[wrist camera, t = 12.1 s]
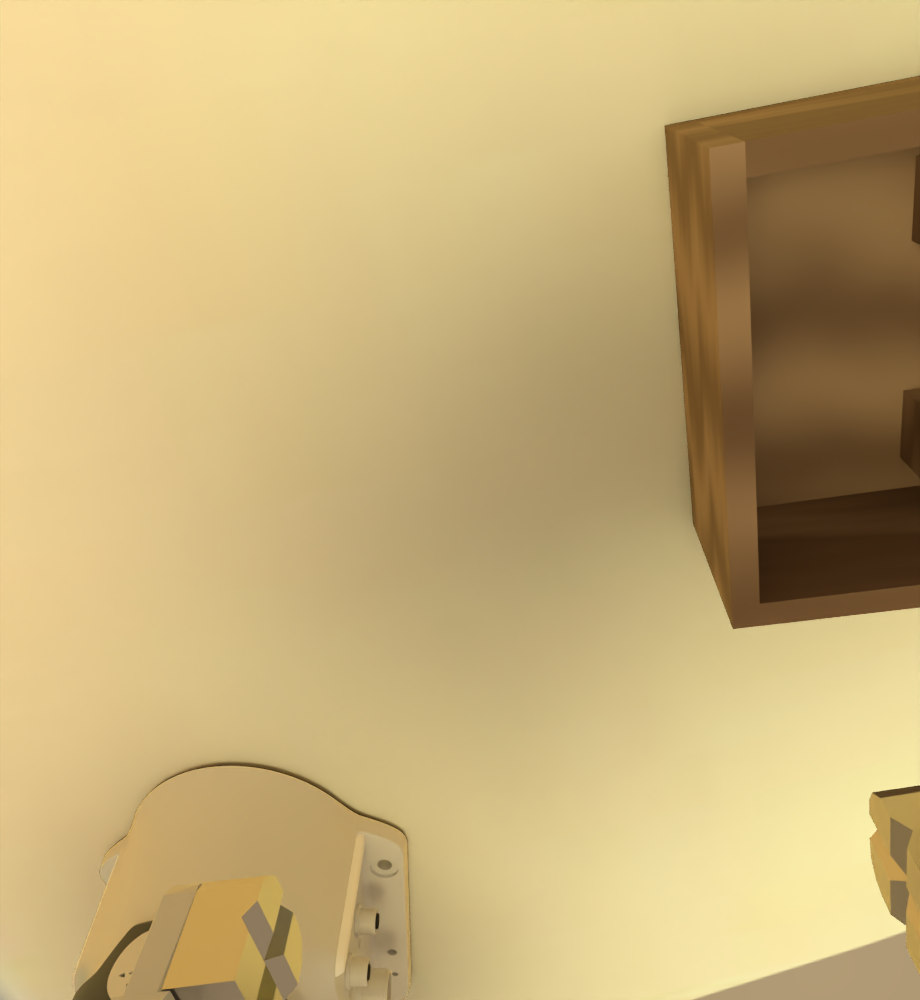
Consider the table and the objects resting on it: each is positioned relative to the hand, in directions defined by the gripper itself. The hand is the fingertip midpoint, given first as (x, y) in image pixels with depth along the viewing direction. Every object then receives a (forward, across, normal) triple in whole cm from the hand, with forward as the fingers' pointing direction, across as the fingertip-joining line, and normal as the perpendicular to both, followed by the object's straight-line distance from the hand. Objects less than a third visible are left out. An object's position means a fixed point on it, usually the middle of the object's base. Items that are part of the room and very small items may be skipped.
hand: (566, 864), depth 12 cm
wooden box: (+26, -12, +2) cm, 29 cm away
